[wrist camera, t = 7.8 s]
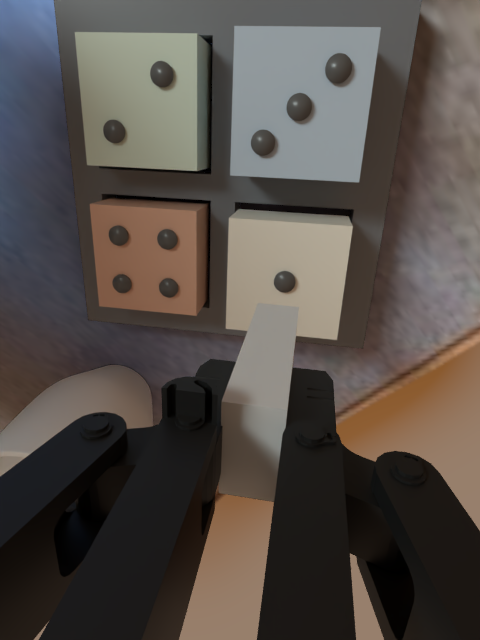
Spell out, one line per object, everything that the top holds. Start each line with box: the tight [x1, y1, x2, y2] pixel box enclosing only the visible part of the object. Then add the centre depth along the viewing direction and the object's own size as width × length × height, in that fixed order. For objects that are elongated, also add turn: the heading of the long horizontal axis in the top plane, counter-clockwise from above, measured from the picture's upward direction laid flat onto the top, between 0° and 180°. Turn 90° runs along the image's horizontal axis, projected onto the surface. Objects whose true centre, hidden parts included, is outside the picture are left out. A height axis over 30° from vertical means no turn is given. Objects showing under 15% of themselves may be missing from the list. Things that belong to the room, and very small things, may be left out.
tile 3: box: [230, 26, 381, 182], centre depth 20 cm, size 6×6×3 cm
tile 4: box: [90, 197, 209, 316], centre depth 26 cm, size 6×6×3 cm
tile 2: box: [75, 32, 211, 171], centre depth 23 cm, size 6×6×3 cm
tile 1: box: [226, 209, 353, 340], centre depth 23 cm, size 6×6×3 cm
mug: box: [0, 365, 153, 476], centre depth 28 cm, size 12×9×12 cm
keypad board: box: [54, 0, 422, 349], centre depth 25 cm, size 18×18×2 cm
